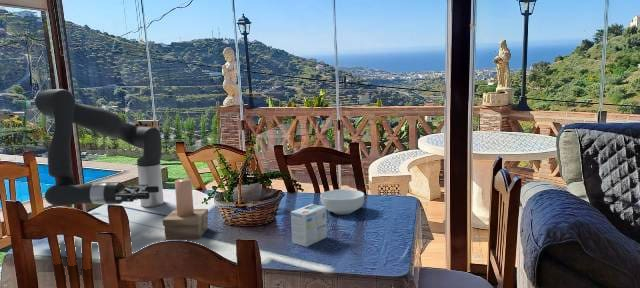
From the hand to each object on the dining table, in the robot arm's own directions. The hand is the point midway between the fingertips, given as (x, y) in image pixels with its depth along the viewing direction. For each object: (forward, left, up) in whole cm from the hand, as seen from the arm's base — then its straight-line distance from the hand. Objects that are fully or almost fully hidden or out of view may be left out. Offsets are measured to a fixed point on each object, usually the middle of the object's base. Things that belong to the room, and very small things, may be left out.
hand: (154, 192), depth 166 cm
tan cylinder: (0, +10, -8) cm, 13 cm away
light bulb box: (+8, +54, -15) cm, 56 cm away
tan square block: (0, +11, -15) cm, 18 cm away
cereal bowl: (-23, +65, -15) cm, 70 cm away
